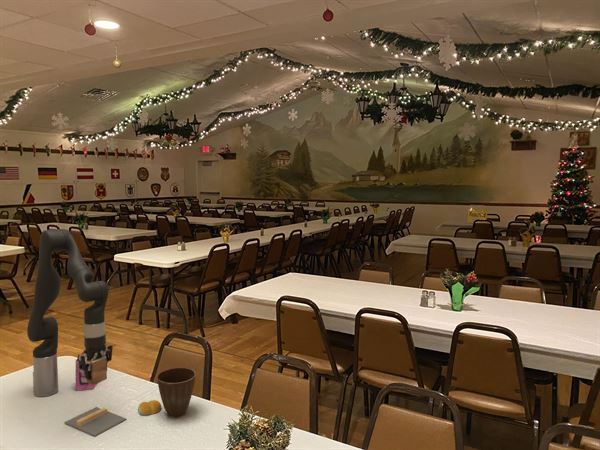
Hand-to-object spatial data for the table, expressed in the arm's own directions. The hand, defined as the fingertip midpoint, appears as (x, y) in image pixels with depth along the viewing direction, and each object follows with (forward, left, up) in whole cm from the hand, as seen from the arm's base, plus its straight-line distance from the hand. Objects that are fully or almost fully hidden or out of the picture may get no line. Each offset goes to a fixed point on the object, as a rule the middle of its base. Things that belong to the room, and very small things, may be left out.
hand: (96, 376), depth 175 cm
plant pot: (+22, +20, -18) cm, 35 cm away
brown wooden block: (0, 0, -2) cm, 2 cm away
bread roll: (+11, +16, -18) cm, 27 cm away
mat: (0, -1, -18) cm, 18 cm away
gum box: (-35, +23, -18) cm, 46 cm away
